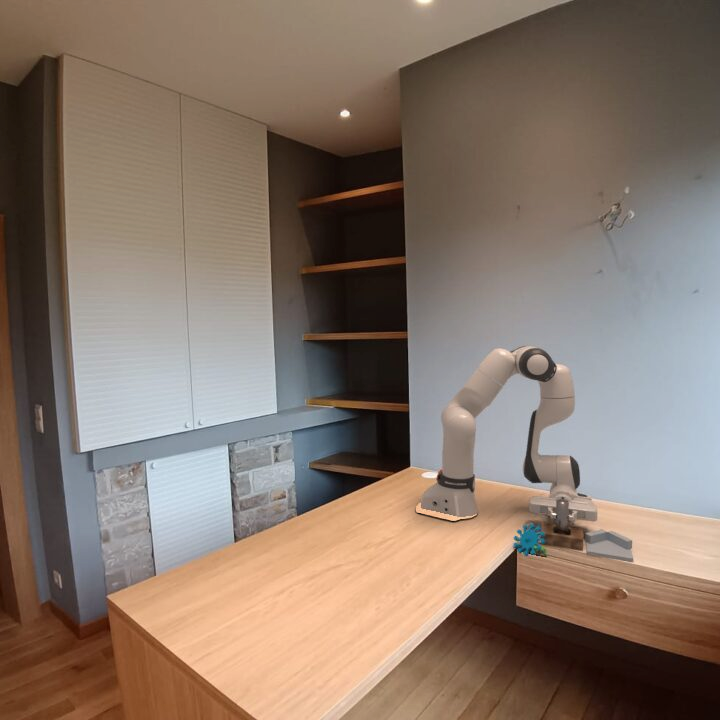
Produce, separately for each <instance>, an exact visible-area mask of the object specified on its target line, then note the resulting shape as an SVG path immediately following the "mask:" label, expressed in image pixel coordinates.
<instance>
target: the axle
mask: <svg viewBox="0 0 720 720" xmlns="http://www.w3.org/2000/svg"><path fill="white" fill-rule="evenodd" d="M568 515H569V502H568V501H567V500H563V499H558V500H556V519H555V525H556V533H557V534H563V535H568V527H569V521H568Z"/></svg>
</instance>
